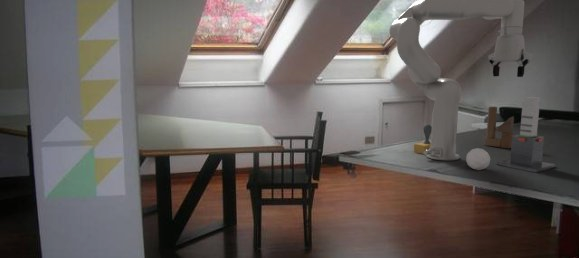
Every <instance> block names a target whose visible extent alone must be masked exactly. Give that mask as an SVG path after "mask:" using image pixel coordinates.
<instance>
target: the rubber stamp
mask: <svg viewBox="0 0 579 258" xmlns="http://www.w3.org/2000/svg"><path fill="white" fill-rule="evenodd" d="M431 129H432V125H430V124H425V125H424V126H423V134H424V137H425V139H424V141H423V142H422V141H421V142H418V143H417V142H416V143H414V144H413V153H417V154H421V155H424V153H423V151H424V150H429V147H430V146H431V141H430V139H429V138H430V137H431Z"/></svg>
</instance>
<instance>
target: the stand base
mask: <svg viewBox="0 0 579 258" xmlns="http://www.w3.org/2000/svg"><path fill="white" fill-rule="evenodd" d="M544 144H545V136H540V135H537V138H526V137H520V134H516V135H513V136H512V146H511V148H510V158H508V159H504V160H500V161H497V162H496V165H498V166H501V167H502V166H503V167H506V168H507V167H508V168H510V169H511V168H512V169H517V170H522V171H526V172H530V173H538V172H539V173H540V172H543V171H546V170H550V169H553V168H556V164H555V163H552V162H544V161H543V156H544Z"/></svg>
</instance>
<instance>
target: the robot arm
mask: <svg viewBox="0 0 579 258" xmlns="http://www.w3.org/2000/svg"><path fill="white" fill-rule="evenodd" d="M524 14H525V1H524V0H416V1H415V2H414V3H412V5H410V6H409V7H408V8H407V9H406V10H405V11H404V12H403V13H402V14H401V15H399V17H397V18H396V19H395V20H394V21H393V22H392V23H391V25H390V26H389V27H390V28H389V35H390V38H391V39H393V40H394V41H395V42H396V51H397V54H398V55H399V58H400V59H401V61H402V62H403V63H404V64H405V65H406V67H407V75H408V78H409V79H410V81H411V82H412V83H413V84H414V85H415V86H416V87H417V88H418V90H420V91H421V92H422V93H423V94H424V96H426V98H428V99H429V100H432V101H434V104H433V107H432V114H431V127H432V129H431V134H430V142H431V146H430V147H429V150H424V151H423V153H424V154H423V155H424V156H426V157H427V158H428V159H432V160H438V161H457V160H459V159H460V155H459V154H457V153H456V151H457V150H456V149H457V132H458V116H459V115H458V113H459V105H460V101H461V97H462V87H461V85H460V83H459V82H458V81H457V80H455V79H452V78H448V77H447V78H446V77H445V78H444V77H441V74H442V71H441V67H440V66H439V64H438V63H437V62H436V61H435V60H434V59H433V58H432V57H431V56H430V54H428V53H427V52H426V51H425V50H424V48H423V47H422V46H421V44H420V40H419V39H420V31H421V26H422V24H424V22H425V21H436V20H437V21H439V20H440V21H462V20H463V21H464V20H469V19H473V18H474V19H475V18H476V19H477V18H482V19H484V20H488V21H490V20H498V19H500V20H501V21H500V29H499V30H497V34H498V35H499V36H497V39H496V42H495V46H494V51H493V52H492V53H490V54H488V55H487V58H488V61H489V63H490V64H491V66H492V67H493V68H492V75H493V76H492V77H499V76H500V66H499V65H500V64H501V63H505V62H509V63H511V62H512V63H513V62H514V63H515V62H516V63H517V64H518V65H519V66H517V71H516V72H517V73H516V76H517V78H523V77H524V75H525V69H526V68H525V67H526V66H527V65H528V64H529V63H530V62H531V60H532V58H533V56H534V55H533V53H530V52H528V51H526V49H525V47H526V46H525V37H524V35H523V29H524V28H523V26H524V25H523V24H524ZM525 57H526V58H525Z"/></svg>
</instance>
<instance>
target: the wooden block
mask: <svg viewBox="0 0 579 258" xmlns="http://www.w3.org/2000/svg"><path fill="white" fill-rule="evenodd" d="M497 117H498V106H492V105H491V106H490V105H489V106H488V109H487V121H486V122H487V124H486V126H487V127H486V137H484V144H483V145H484V146H488V147H494V148H501V149H511V146H512V136H514V133H513V132H514V121H515V116H511V117H509V118H508V119H506V121H504V122H503V123H502V124H500V125H499V126H498V127H497ZM496 132H498V133H499V132H500V133H501V136H500V137H501V138H499V137H496Z"/></svg>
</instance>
